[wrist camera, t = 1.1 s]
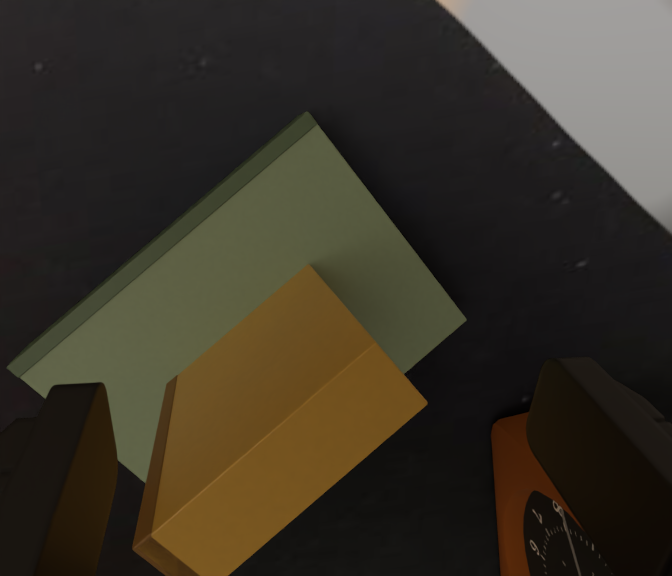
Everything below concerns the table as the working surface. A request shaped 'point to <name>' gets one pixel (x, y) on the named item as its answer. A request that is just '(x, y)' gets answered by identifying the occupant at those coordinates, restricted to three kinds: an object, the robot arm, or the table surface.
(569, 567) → the alarm clock
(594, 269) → the table surface
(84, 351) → the sage book
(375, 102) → the table surface
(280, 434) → the mustard book
